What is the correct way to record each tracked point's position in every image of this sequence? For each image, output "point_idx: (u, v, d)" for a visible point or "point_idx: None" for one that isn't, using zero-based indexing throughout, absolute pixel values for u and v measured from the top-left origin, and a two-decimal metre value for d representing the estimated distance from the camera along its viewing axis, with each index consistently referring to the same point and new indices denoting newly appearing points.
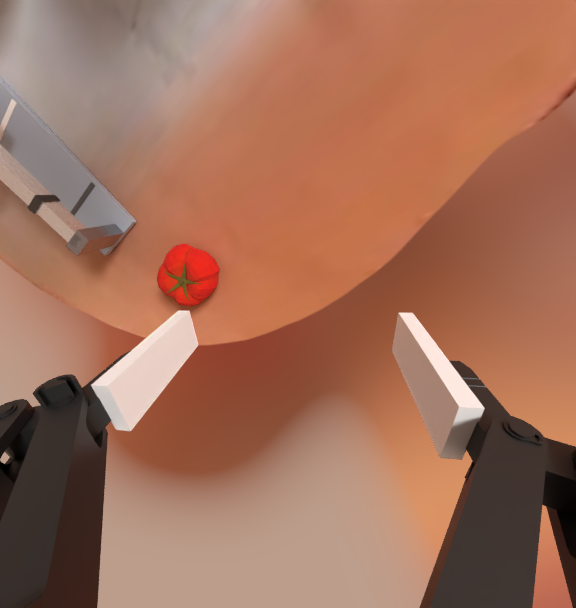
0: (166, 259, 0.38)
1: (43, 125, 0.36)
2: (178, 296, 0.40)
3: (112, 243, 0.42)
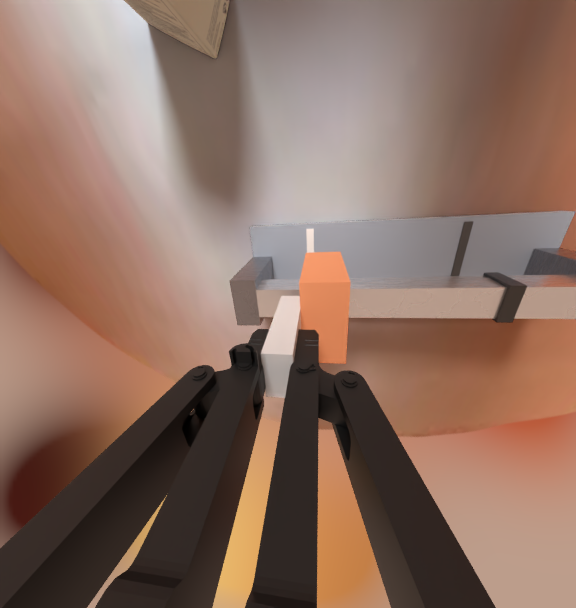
0: None
1: (351, 221, 0.22)
2: None
3: None
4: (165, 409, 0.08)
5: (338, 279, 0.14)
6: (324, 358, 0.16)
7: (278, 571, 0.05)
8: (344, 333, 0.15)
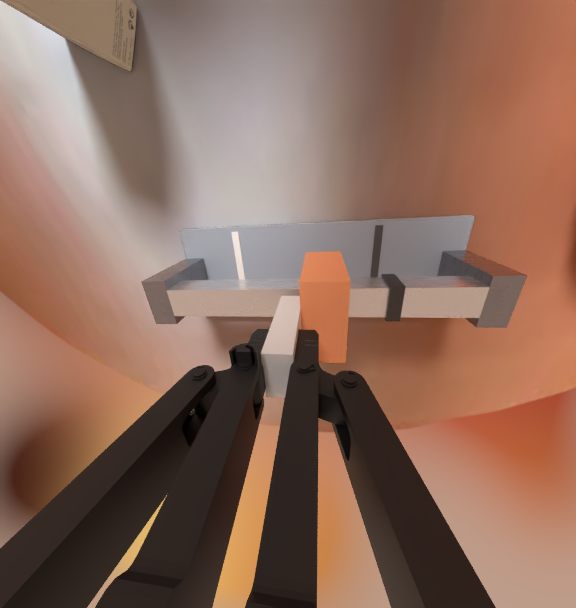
0: None
1: (274, 225, 0.23)
2: None
3: None
4: (165, 409, 0.08)
5: (338, 278, 0.14)
6: (324, 357, 0.16)
7: (278, 571, 0.05)
8: (344, 332, 0.15)
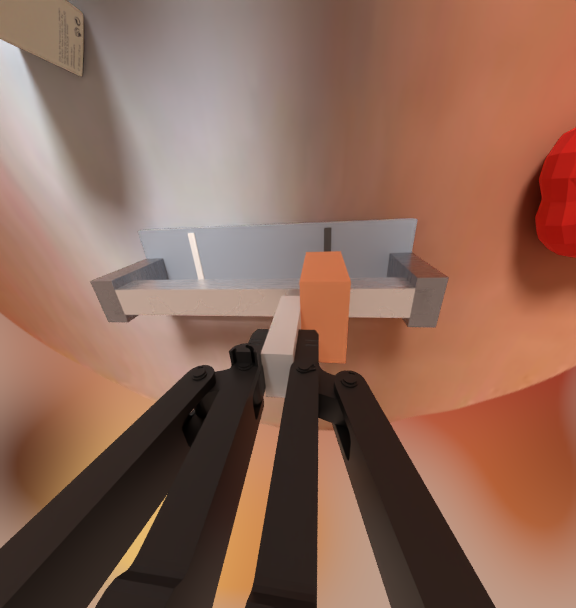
0: None
1: (228, 226, 0.24)
2: None
3: None
4: (165, 409, 0.08)
5: (338, 278, 0.14)
6: (324, 357, 0.16)
7: (278, 572, 0.05)
8: (344, 333, 0.15)
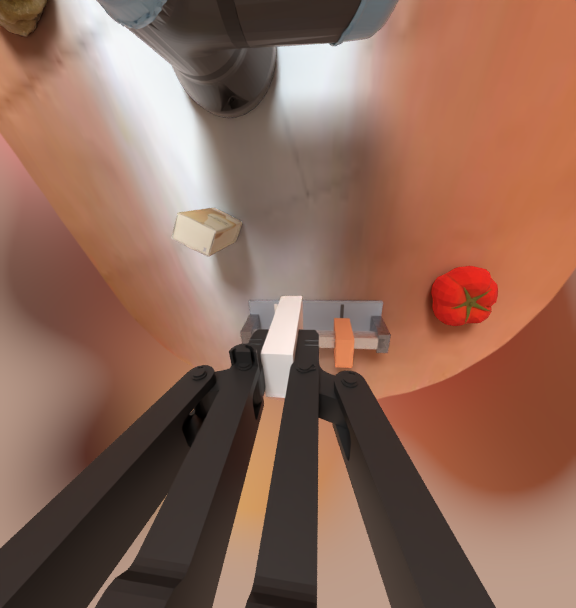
0: (445, 298, 0.40)
1: None
2: (478, 316, 0.40)
3: None
4: (165, 409, 0.08)
5: (350, 338, 0.40)
6: (344, 365, 0.42)
7: (278, 570, 0.05)
8: (351, 356, 0.41)
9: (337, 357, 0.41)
